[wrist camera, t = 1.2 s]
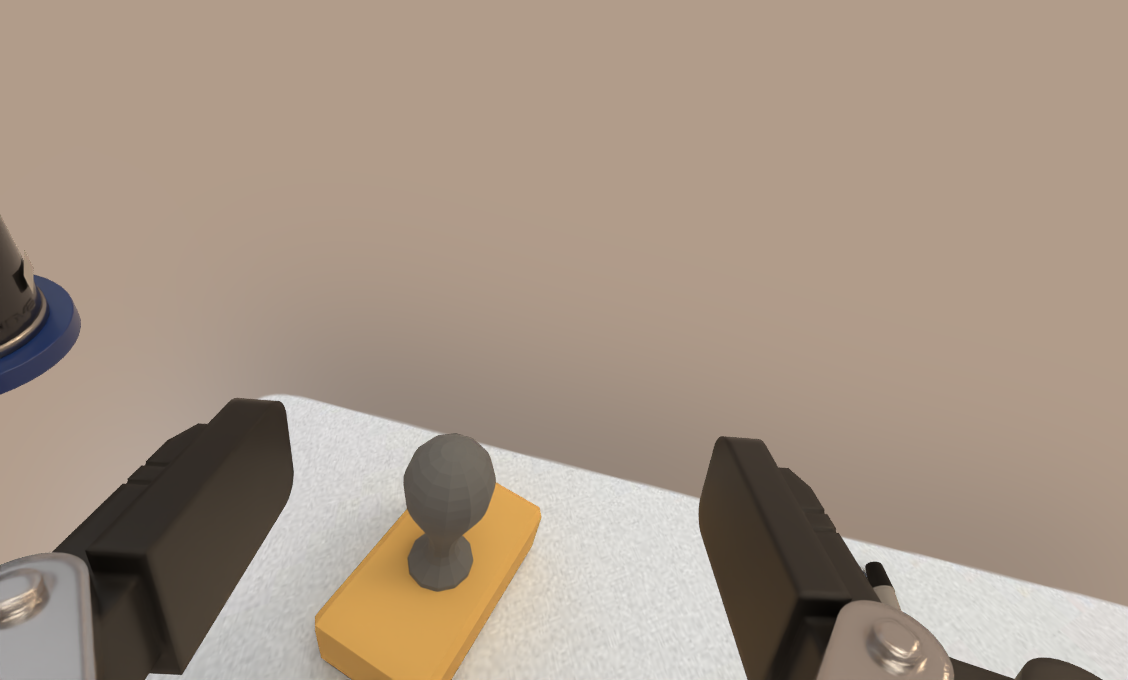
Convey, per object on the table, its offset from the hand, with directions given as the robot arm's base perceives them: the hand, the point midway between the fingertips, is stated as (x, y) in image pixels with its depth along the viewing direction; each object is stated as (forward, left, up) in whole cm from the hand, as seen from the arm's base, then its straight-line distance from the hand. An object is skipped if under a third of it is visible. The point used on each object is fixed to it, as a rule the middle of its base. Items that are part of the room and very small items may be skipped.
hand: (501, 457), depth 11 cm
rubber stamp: (-2, +6, -20) cm, 21 cm away
